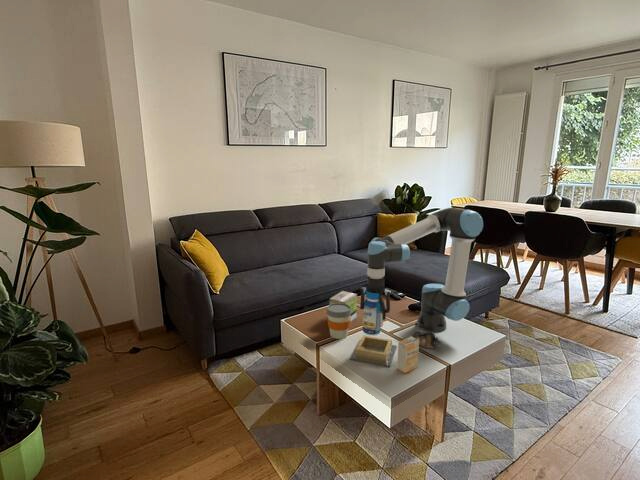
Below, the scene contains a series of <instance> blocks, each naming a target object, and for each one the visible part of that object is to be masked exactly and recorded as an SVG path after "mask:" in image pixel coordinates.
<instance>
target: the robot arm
mask: <svg viewBox="0 0 640 480" xmlns="http://www.w3.org/2000/svg"><path fill="white" fill-rule="evenodd" d="M483 229H484V220H483V217H482V216H481V214H479V212H477V211H474V210H471V209H466V208H465V209H464V208H456V207H447V208H443V209H441V210H439V211H436V212H432V213H431V214H428V215H427V218H424V219H422V220H420V221H418V222H415V223H412V224H411V225H408V226H406V227H404V228H402V229H399V230H398V231H395V232H392V233H391V234H388V235H386V236H384V237H373V239H371V240H370V242H369V243H368V247H367V273H366V275H367V276H366V277H367V279H366V280H367V281H366V286H365V287H364V286H362V287H360V290H359V291H360V303H359V309H361V310H363V308H364V302H365V300H366V290H367V291H368V292H371V293H378V294H379V302H380V306H381V309H382V313H381V320H380V328H383V326H384V321H386V318H387V317H386V316H387V315H386V314H389V313H390V311H391V296H390V295H391V292H392V291H391V289H386V287H385V273H386V270H385V269H386V263H393V262H403V261H407V260H408V259H409V258H410V255H411V250H410V247H409V245H408V244H410V243H412V242H414V241H416V240H420V238H423V237H425V236H427V235H429V234H432V233H439V232H441V231H449V238H450V239H451V245H450V246H451V247H450V252H449V259H448V264H447V265H448V266H447V272H446V273H447V274H446V279H445V284H441V283H427V284H424V285H423V286H422V290H421V304H420V305H421V306H420V307H421V309H420V313H419V315H418V317H417V321H416V324H417V327H419V328H420V329H421V330H424V331H426V332H433V333H434V332H435V333H436V332H437V333H439V332H443V331H445V330H447V320H446V319H448V320H450V321H456V322H458V321H461V320H463V319H465V317H466V316H467V315H468V313H469V311H470V303H469V301H468V300H467V299H466V298H467V293H466V292H465V290H464V288H465V282H466V276H467V270H468V264H469V260H470V259H469V257H470V252H471V246H472V242H474V241H475V240H476V237H477V236H479V235H480V234H481V232H482V231H483ZM383 294H384V295H385V301H384V298H383Z"/></svg>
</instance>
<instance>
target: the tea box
mask: <svg viewBox="0 0 640 480" xmlns="http://www.w3.org/2000/svg"><path fill="white" fill-rule="evenodd" d="M334 303H344V304H347V305H349V306H350V307H351V315H350V317H351V321H350V323H351V322H353V321H354V320H355V319H356V318H357V313H358V312H357V311H358V309H357V306H358V305H357V304H358V294H357V293H353V292H350V291H344V290H341V291H340V292H339V293H337V294H335V295H333V296H332V297H330V298H329V305H330V304H334Z"/></svg>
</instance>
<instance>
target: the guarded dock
mask: <svg viewBox="0 0 640 480" xmlns="http://www.w3.org/2000/svg"><path fill="white" fill-rule="evenodd" d="M397 349H398V345H395V344H393V340H392V339H386V338H380V337H374V336H371V335H363V336H362V337H361V339H359V340H358V342H357V344H356V346H355V348H354V350H353V352H352V353H351V354H350V357H349V360H351V361H354V362H361V363H364V364H365V363H366V364H370V365H374V366H381V367H387V368H391V367H392V366H391V365H392V362H393V360H394V357H395V353H396V350H397Z"/></svg>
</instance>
